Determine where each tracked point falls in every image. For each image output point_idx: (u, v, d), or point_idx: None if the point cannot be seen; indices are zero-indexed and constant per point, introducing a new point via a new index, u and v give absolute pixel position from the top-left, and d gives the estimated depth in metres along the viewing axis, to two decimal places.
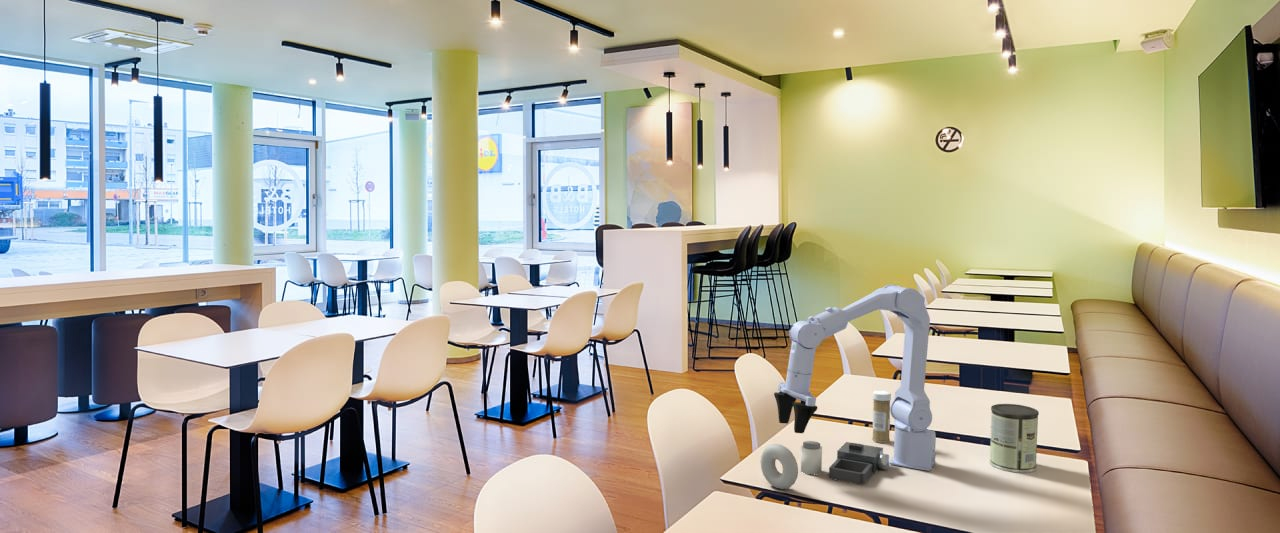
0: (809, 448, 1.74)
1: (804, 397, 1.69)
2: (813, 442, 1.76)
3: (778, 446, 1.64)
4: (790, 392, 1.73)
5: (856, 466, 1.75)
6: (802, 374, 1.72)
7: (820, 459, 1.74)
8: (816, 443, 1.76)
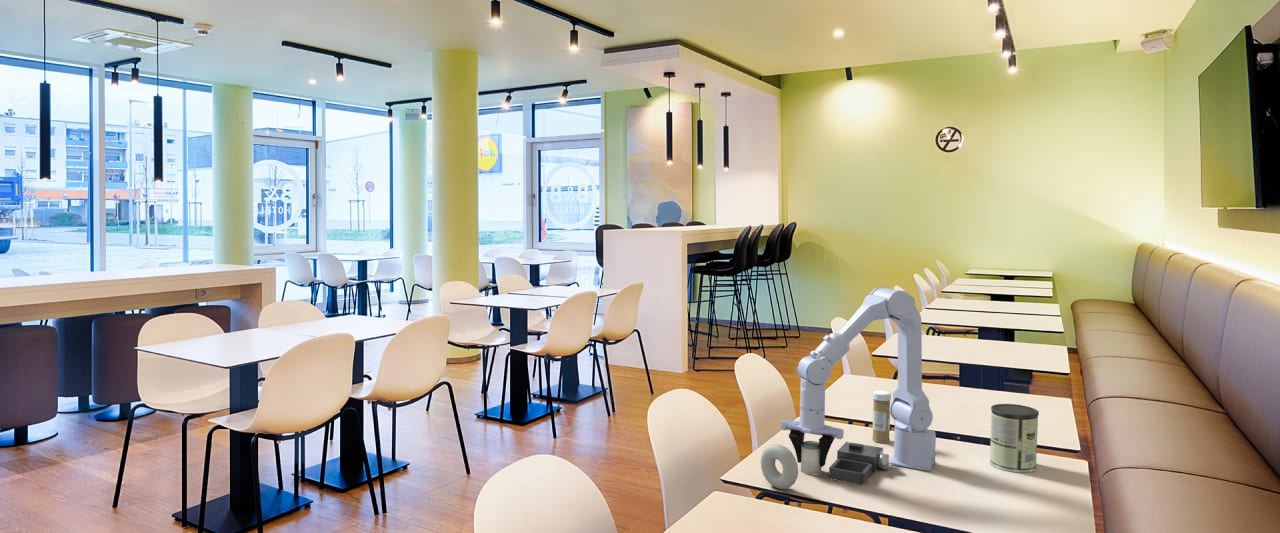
0: (809, 448, 1.74)
1: (834, 432, 1.71)
2: (813, 442, 1.76)
3: (778, 446, 1.64)
4: (815, 431, 1.72)
5: (856, 466, 1.75)
6: (822, 410, 1.73)
7: None
8: (816, 443, 1.76)
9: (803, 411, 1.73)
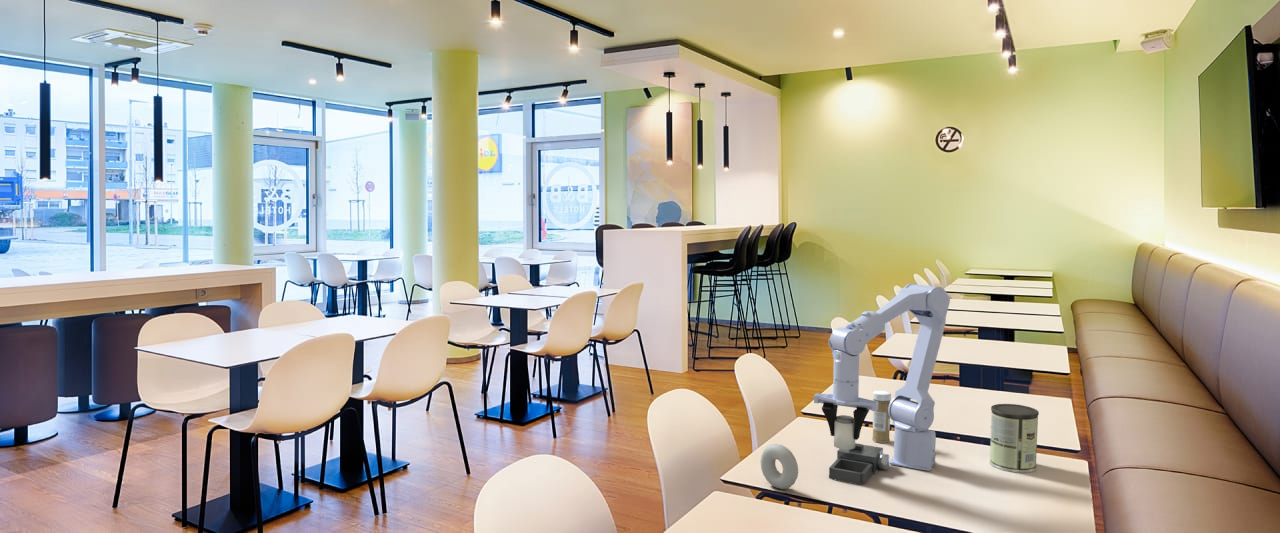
0: (842, 422, 1.70)
1: (869, 404, 1.68)
2: (846, 416, 1.73)
3: (778, 446, 1.64)
4: (850, 403, 1.69)
5: (856, 466, 1.75)
6: (856, 381, 1.69)
7: None
8: (850, 417, 1.72)
9: (837, 383, 1.70)
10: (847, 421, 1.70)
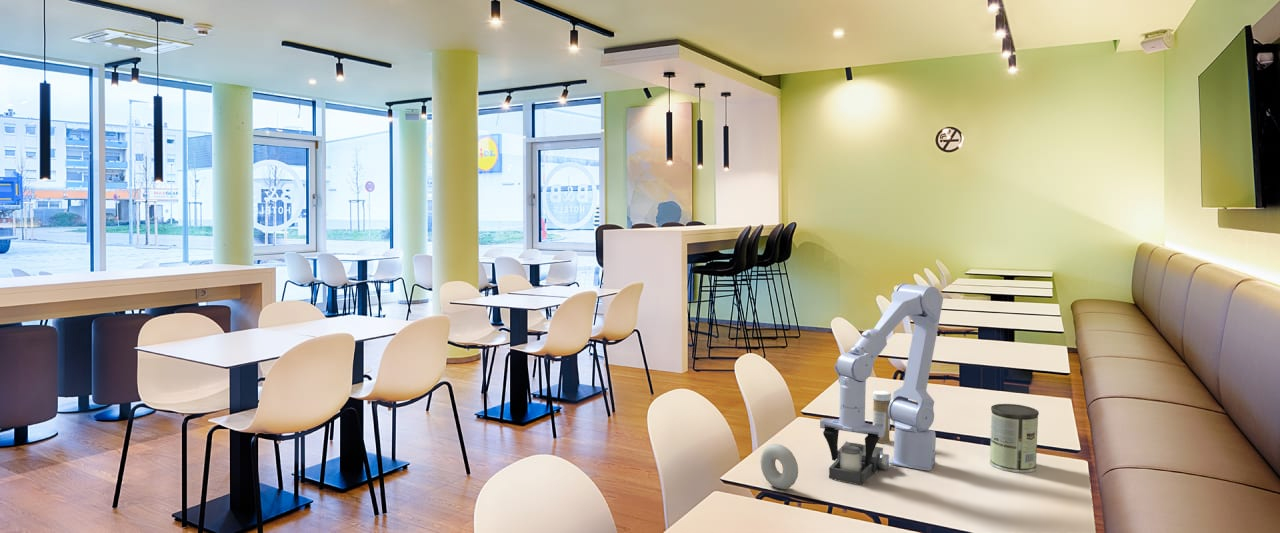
0: (849, 453, 1.70)
1: (875, 430, 1.68)
2: (852, 447, 1.73)
3: (778, 446, 1.64)
4: (856, 429, 1.69)
5: None
6: (863, 407, 1.69)
7: (860, 464, 1.71)
8: (856, 448, 1.72)
9: (843, 409, 1.70)
10: (853, 452, 1.70)
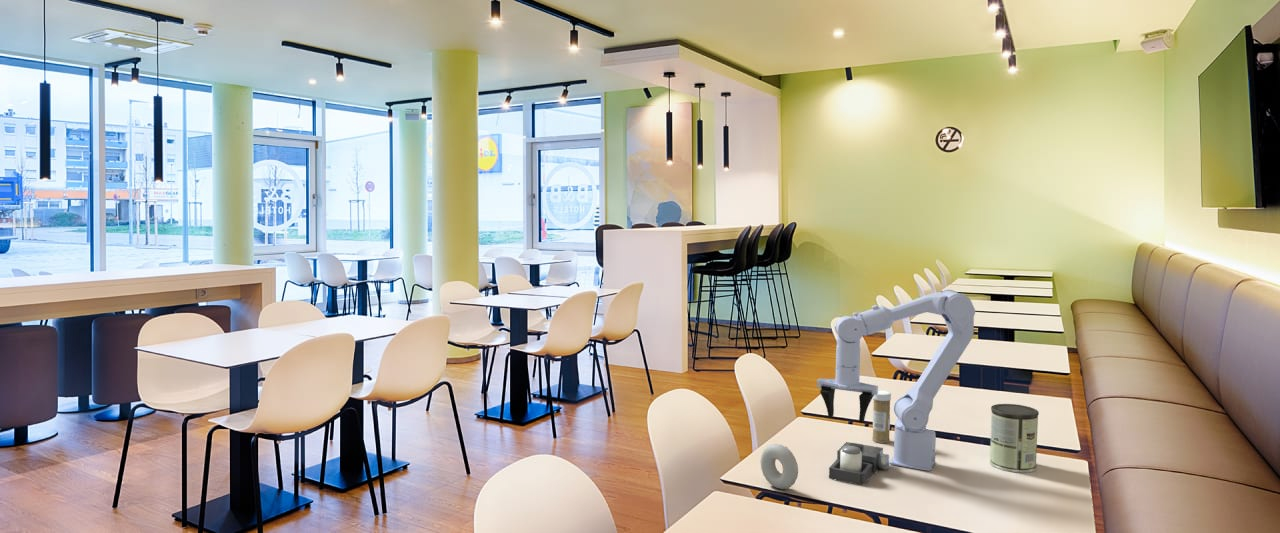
0: (849, 453, 1.70)
1: (869, 388, 1.78)
2: (852, 447, 1.73)
3: (778, 446, 1.64)
4: (851, 387, 1.79)
5: None
6: (858, 367, 1.80)
7: (860, 464, 1.71)
8: (856, 448, 1.72)
9: (839, 368, 1.80)
10: (853, 452, 1.70)
